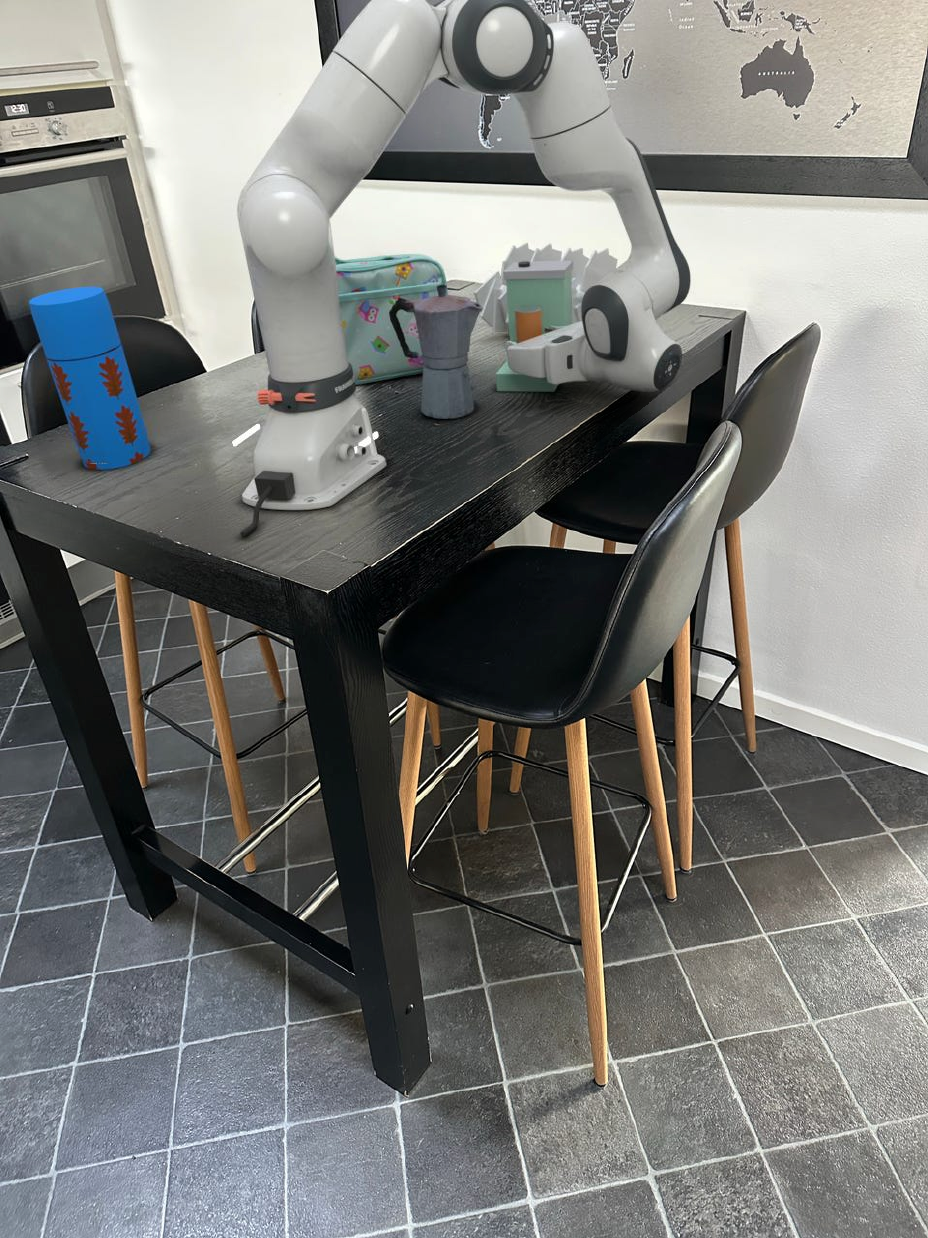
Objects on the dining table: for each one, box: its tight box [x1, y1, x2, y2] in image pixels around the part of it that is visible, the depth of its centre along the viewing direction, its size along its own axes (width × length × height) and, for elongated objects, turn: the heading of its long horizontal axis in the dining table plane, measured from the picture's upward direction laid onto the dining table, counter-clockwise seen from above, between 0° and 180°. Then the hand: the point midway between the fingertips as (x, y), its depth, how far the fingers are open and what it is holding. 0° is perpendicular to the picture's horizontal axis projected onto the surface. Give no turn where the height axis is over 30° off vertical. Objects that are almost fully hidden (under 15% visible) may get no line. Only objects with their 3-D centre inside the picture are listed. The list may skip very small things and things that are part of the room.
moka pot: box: [389, 285, 483, 420], centre depth 144 cm, size 10×15×20 cm, turn 78°
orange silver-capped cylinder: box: [515, 305, 543, 343], centre depth 155 cm, size 4×4×12 cm
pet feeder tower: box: [504, 260, 573, 341], centre depth 160 cm, size 7×11×18 cm, turn 73°
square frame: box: [495, 359, 559, 393], centre depth 157 cm, size 10×10×3 cm
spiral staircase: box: [473, 242, 619, 337], centre depth 174 cm, size 18×18×25 cm
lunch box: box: [335, 253, 449, 386], centre depth 163 cm, size 27×10×21 cm, turn 102°
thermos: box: [28, 286, 151, 471], centre depth 139 cm, size 11×11×25 cm
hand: (528, 338), depth 154 cm, fingers open, 8 cm apart
